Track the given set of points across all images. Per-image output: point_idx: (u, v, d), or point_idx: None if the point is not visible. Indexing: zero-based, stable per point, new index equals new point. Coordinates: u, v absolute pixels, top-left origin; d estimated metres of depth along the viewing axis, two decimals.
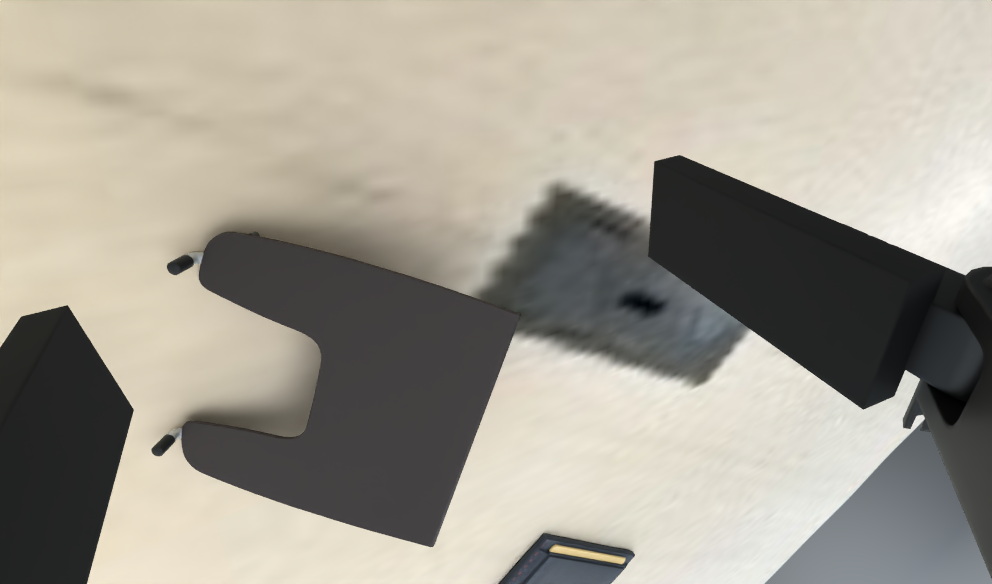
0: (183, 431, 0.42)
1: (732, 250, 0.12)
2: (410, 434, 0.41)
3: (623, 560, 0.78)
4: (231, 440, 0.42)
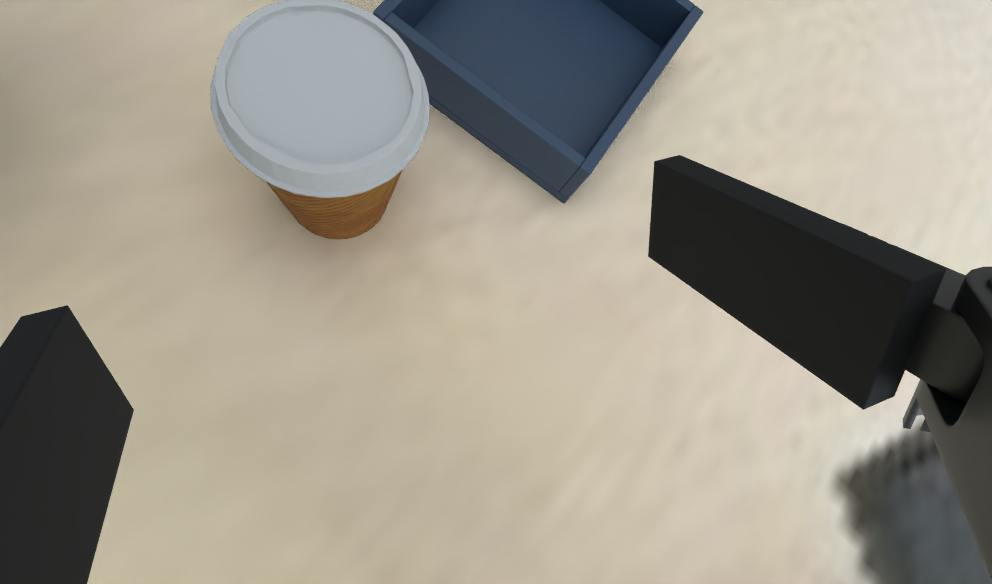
0: None
1: (732, 250, 0.12)
2: None
3: None
4: None
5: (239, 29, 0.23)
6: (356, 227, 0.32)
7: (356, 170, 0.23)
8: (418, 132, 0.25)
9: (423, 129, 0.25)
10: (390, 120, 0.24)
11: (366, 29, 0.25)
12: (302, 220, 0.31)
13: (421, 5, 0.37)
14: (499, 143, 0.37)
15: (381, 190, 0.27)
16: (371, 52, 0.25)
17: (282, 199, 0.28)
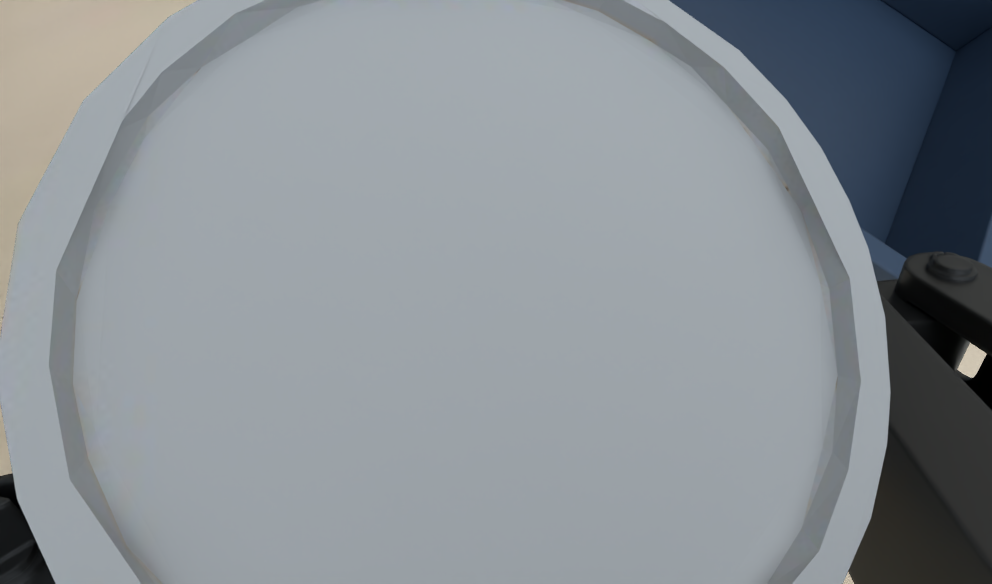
0: None
1: None
2: None
3: None
4: None
5: (133, 73, 0.05)
6: None
7: None
8: None
9: None
10: (775, 405, 0.06)
11: (622, 43, 0.07)
12: None
13: None
14: None
15: None
16: (655, 127, 0.07)
17: None
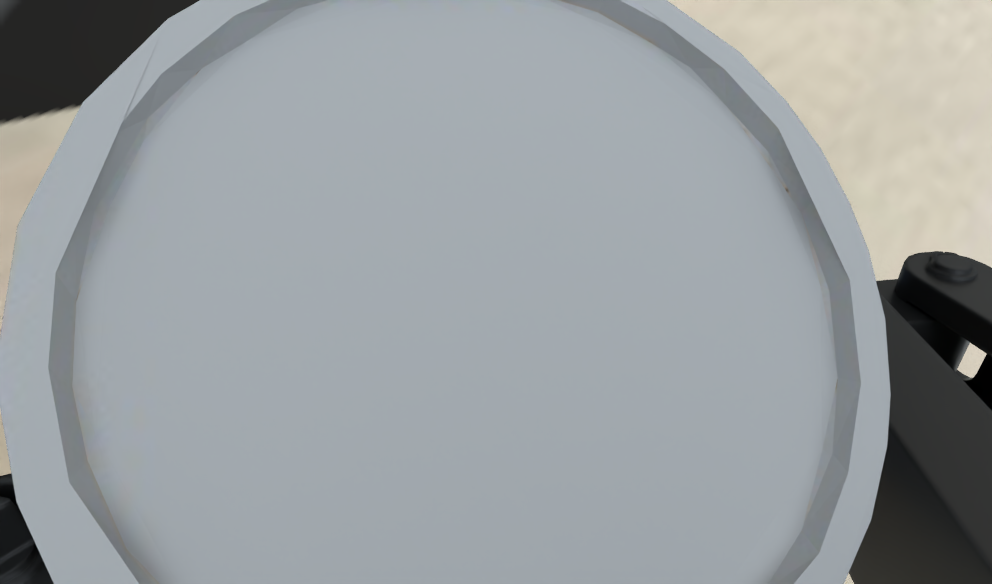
0: None
1: None
2: None
3: None
4: None
5: (131, 75, 0.05)
6: None
7: None
8: None
9: None
10: (775, 407, 0.06)
11: (622, 44, 0.07)
12: None
13: None
14: None
15: None
16: (654, 129, 0.07)
17: None
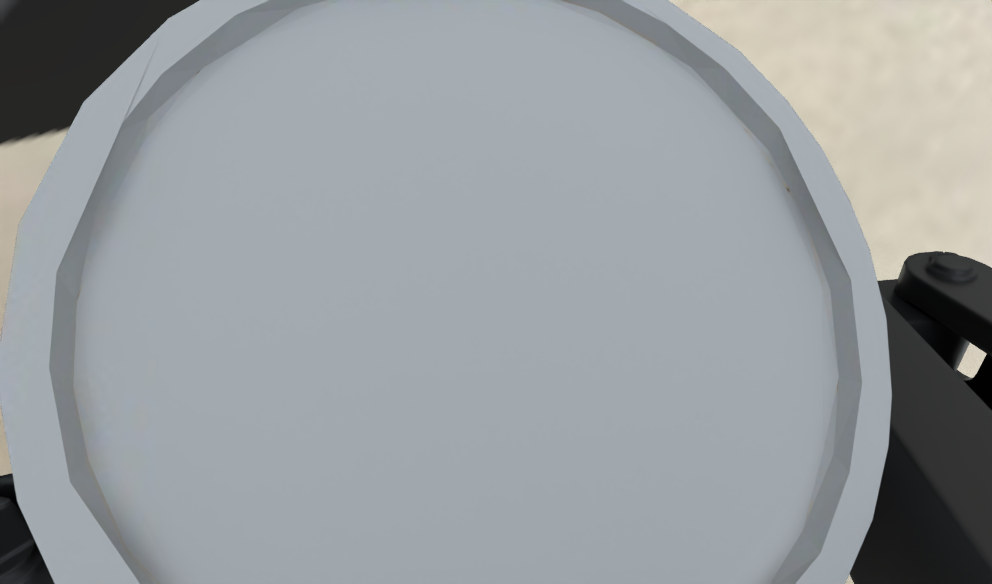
0: None
1: None
2: None
3: None
4: None
5: (133, 75, 0.05)
6: None
7: None
8: None
9: None
10: (776, 407, 0.06)
11: (623, 44, 0.07)
12: None
13: None
14: None
15: None
16: (656, 129, 0.06)
17: None
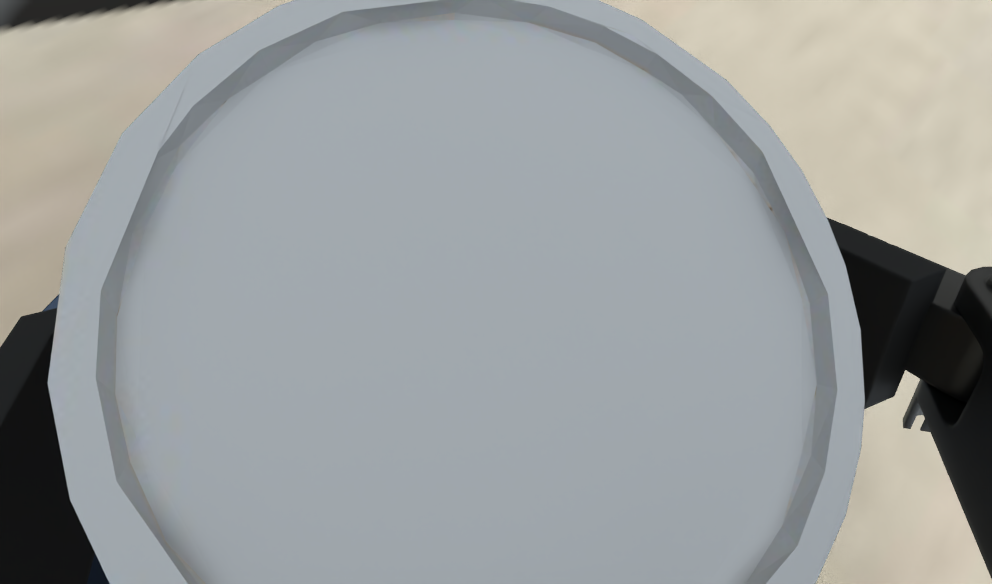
0: None
1: None
2: None
3: None
4: None
5: (166, 107, 0.06)
6: None
7: None
8: None
9: None
10: (759, 412, 0.06)
11: (617, 72, 0.07)
12: None
13: None
14: None
15: None
16: (647, 152, 0.07)
17: None
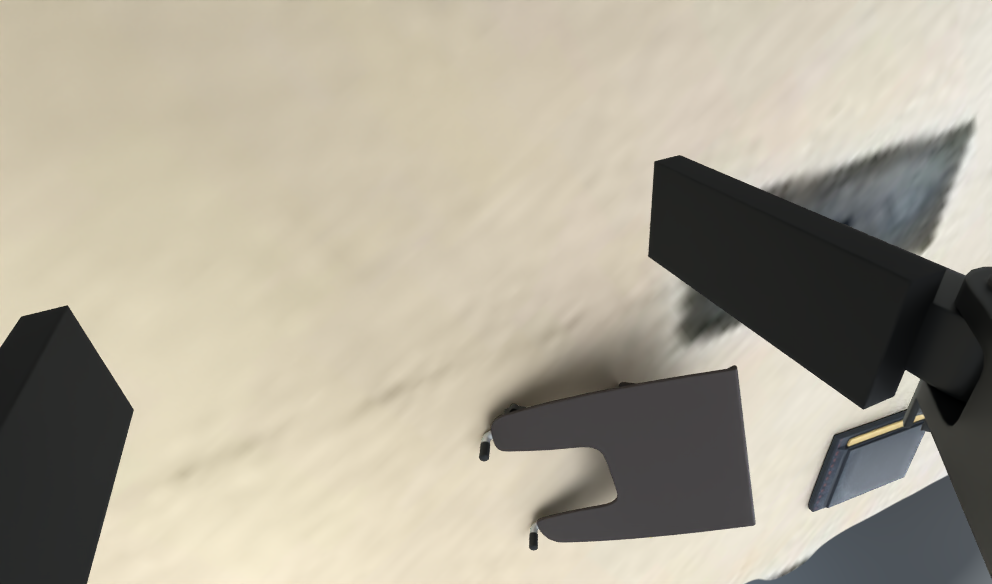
0: (538, 526, 0.58)
1: (732, 250, 0.12)
2: (695, 470, 0.50)
3: None
4: (572, 519, 0.57)
5: None
6: None
7: None
8: None
9: None
10: None
11: None
12: None
13: None
14: None
15: None
16: None
17: None
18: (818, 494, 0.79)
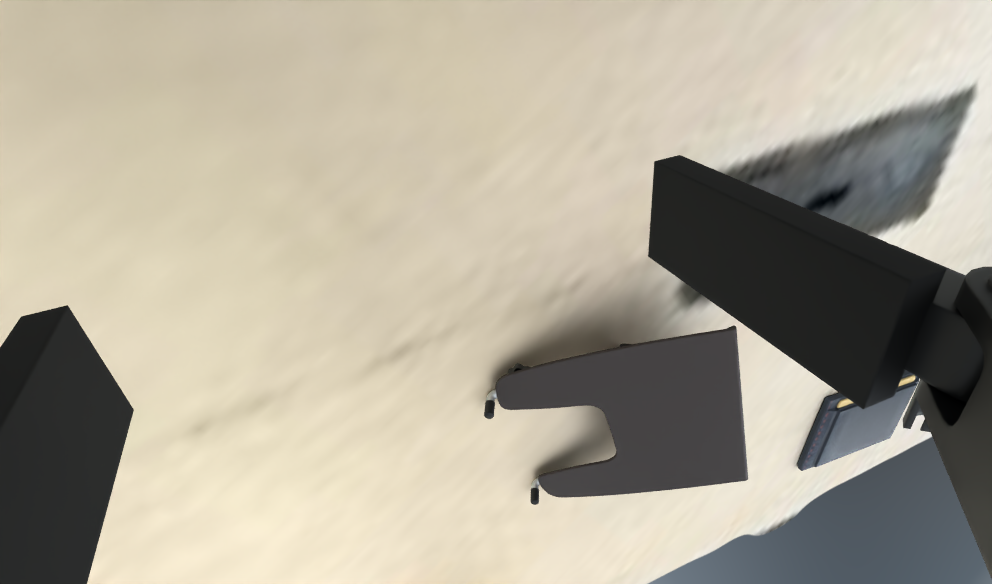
0: (539, 482, 0.60)
1: (732, 250, 0.12)
2: (692, 427, 0.52)
3: (913, 378, 0.82)
4: (572, 475, 0.59)
5: None
6: None
7: None
8: None
9: None
10: None
11: None
12: None
13: None
14: None
15: None
16: None
17: None
18: (807, 454, 0.82)
